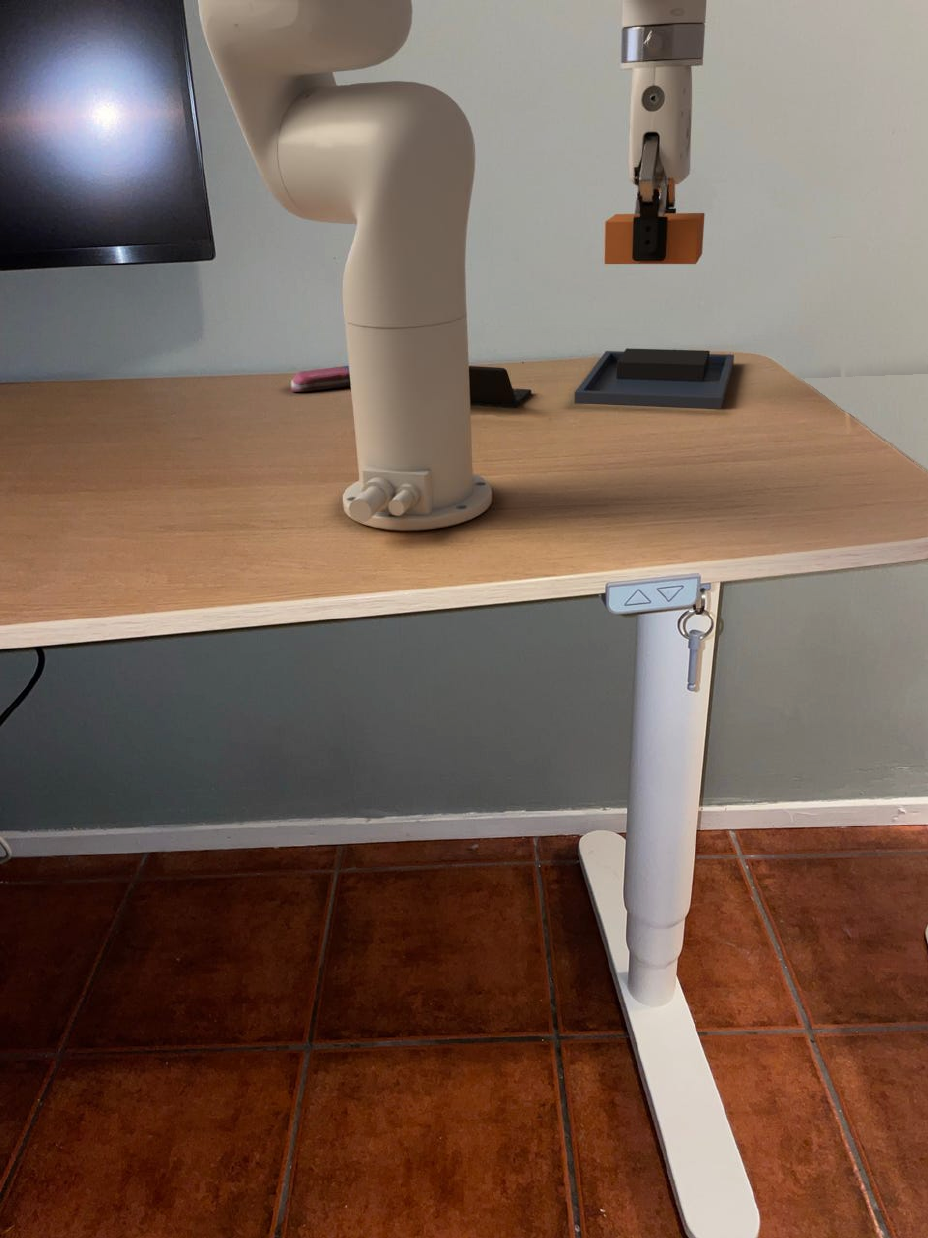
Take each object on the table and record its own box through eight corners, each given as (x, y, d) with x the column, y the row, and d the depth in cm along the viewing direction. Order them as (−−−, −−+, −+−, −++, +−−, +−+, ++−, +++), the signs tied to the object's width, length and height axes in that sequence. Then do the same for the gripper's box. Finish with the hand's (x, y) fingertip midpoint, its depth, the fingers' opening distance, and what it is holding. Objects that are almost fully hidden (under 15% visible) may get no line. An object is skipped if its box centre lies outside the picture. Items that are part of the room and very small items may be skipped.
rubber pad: (703, 381, 114) (704, 364, 114) (616, 378, 117) (616, 361, 116) (708, 367, 120) (709, 350, 119) (625, 364, 123) (626, 348, 122)
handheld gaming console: (533, 377, 114) (513, 318, 106) (531, 429, 111) (510, 373, 103) (437, 390, 117) (410, 333, 109) (433, 441, 114) (404, 387, 106)
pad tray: (720, 413, 105) (722, 397, 104) (574, 407, 109) (574, 391, 108) (733, 368, 121) (734, 354, 121) (605, 364, 126) (605, 350, 125)
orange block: (696, 264, 97) (698, 220, 95) (604, 263, 100) (605, 221, 98) (702, 254, 102) (704, 212, 100) (614, 254, 105) (615, 213, 103)
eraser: (293, 394, 119) (290, 380, 118) (289, 386, 122) (287, 371, 121) (386, 382, 121) (384, 367, 120) (380, 374, 124) (378, 360, 123)
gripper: (693, 45, 84) (681, 269, 92) (711, 49, 98) (699, 242, 107) (605, 50, 86) (601, 269, 95) (635, 53, 101) (629, 242, 109)
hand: (653, 253), depth 101 cm, fingers closed on orange block, 6 cm apart
